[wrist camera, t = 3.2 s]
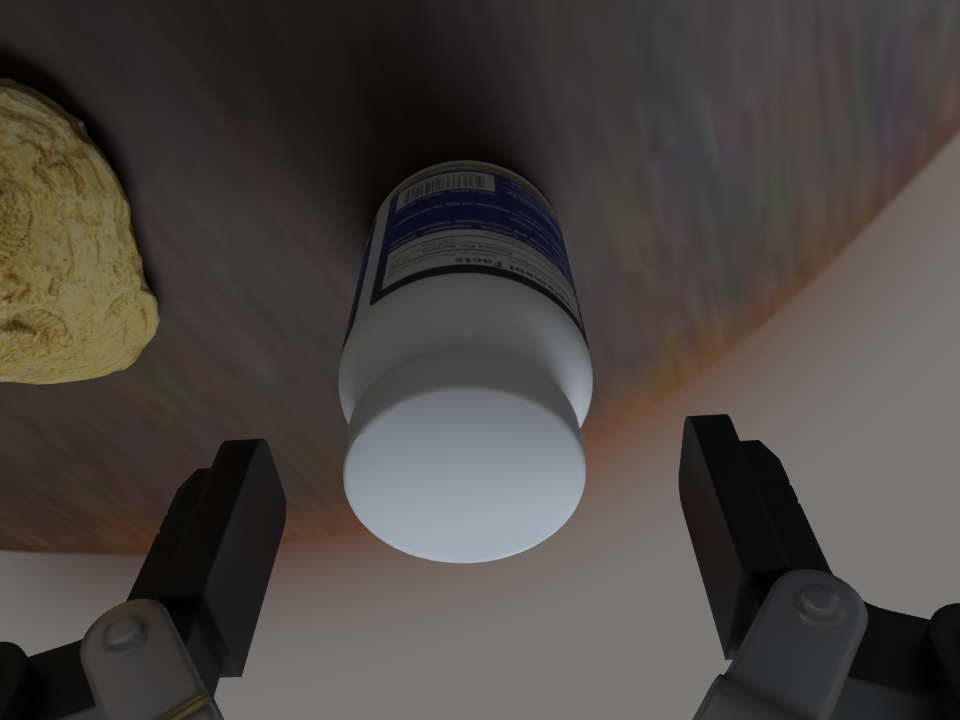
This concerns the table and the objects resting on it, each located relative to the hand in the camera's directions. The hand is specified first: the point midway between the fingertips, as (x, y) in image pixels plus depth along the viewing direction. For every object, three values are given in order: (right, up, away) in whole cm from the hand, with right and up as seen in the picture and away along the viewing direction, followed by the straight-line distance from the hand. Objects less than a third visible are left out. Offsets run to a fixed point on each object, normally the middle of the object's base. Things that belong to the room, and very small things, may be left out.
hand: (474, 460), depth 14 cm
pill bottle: (0, +5, +8) cm, 10 cm away
